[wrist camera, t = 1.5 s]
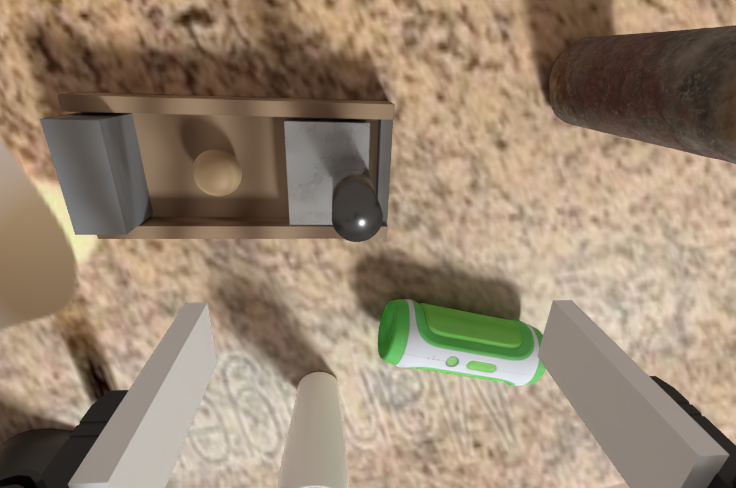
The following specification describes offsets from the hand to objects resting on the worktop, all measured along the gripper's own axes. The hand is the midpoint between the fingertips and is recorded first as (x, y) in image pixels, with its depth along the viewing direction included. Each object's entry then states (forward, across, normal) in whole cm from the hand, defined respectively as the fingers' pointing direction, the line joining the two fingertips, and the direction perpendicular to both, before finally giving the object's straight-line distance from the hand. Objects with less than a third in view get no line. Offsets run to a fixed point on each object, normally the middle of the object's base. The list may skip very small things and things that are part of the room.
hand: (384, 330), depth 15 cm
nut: (+21, -12, +1) cm, 25 cm away
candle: (+25, +21, +9) cm, 34 cm away
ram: (+23, -3, +1) cm, 23 cm away
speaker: (+25, +12, -18) cm, 33 cm away
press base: (+25, -10, +1) cm, 27 cm away
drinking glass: (+25, -4, -27) cm, 37 cm away
